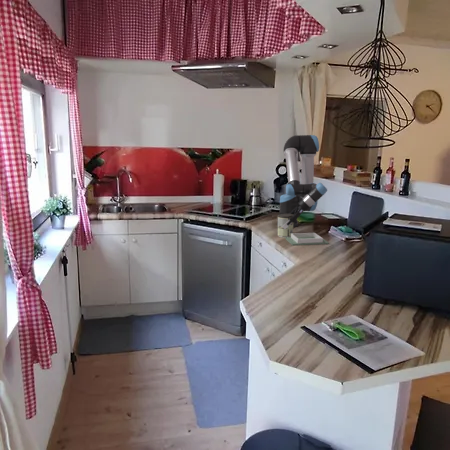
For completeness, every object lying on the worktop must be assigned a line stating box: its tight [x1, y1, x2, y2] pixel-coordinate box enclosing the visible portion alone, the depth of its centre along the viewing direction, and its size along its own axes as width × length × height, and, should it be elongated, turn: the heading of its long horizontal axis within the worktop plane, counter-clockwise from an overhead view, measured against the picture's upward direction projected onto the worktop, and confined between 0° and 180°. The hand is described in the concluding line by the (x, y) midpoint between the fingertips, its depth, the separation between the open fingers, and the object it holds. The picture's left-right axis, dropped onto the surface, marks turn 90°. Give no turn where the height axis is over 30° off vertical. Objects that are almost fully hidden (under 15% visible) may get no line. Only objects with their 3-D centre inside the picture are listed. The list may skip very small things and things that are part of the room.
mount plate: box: [284, 232, 329, 246], centre depth 250 cm, size 17×22×4 cm
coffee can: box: [277, 213, 294, 239], centre depth 264 cm, size 10×10×14 cm
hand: (282, 226), depth 264 cm, fingers open, 13 cm apart
